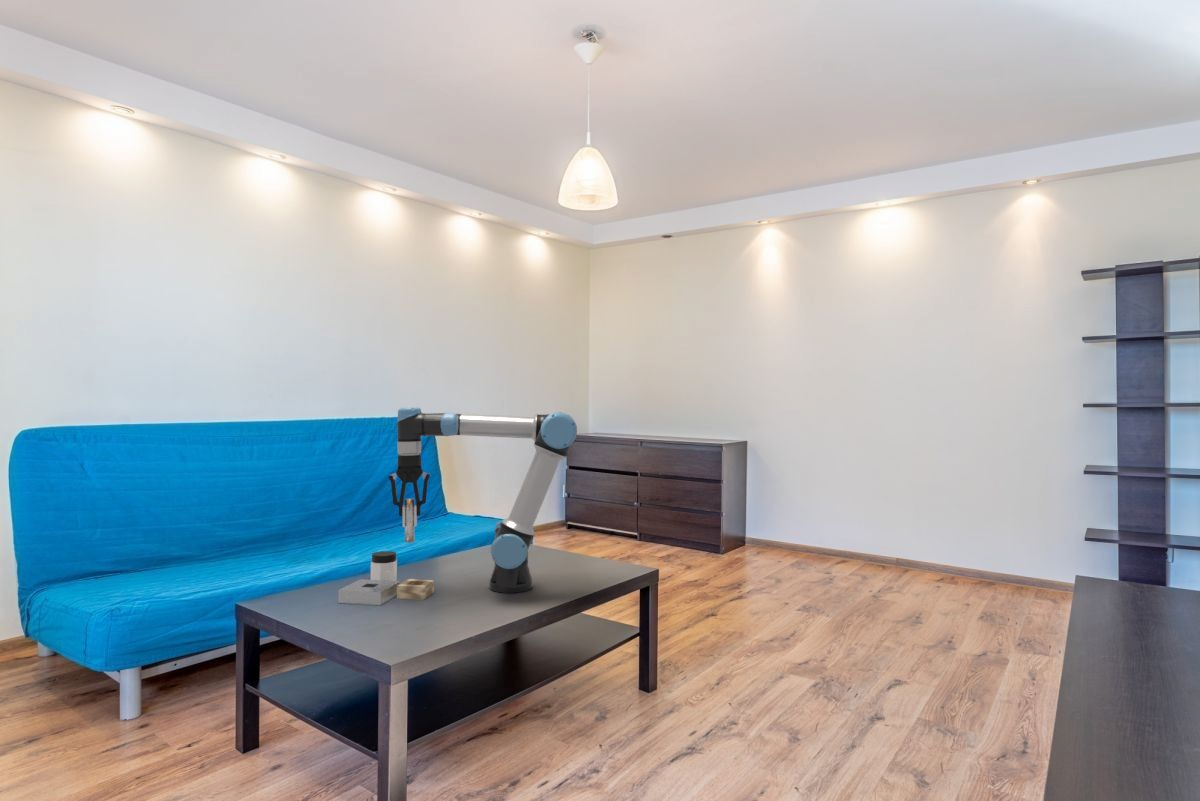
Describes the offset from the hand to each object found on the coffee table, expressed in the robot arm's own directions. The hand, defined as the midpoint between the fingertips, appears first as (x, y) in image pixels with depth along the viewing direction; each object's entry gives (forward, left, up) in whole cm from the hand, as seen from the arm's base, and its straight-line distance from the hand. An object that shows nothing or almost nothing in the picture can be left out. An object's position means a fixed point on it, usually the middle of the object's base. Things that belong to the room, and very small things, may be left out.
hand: (409, 525), depth 221 cm
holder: (-2, -1, -24) cm, 24 cm away
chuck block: (+11, +5, -24) cm, 27 cm away
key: (0, 0, -5) cm, 5 cm away
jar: (+14, -11, -24) cm, 30 cm away
